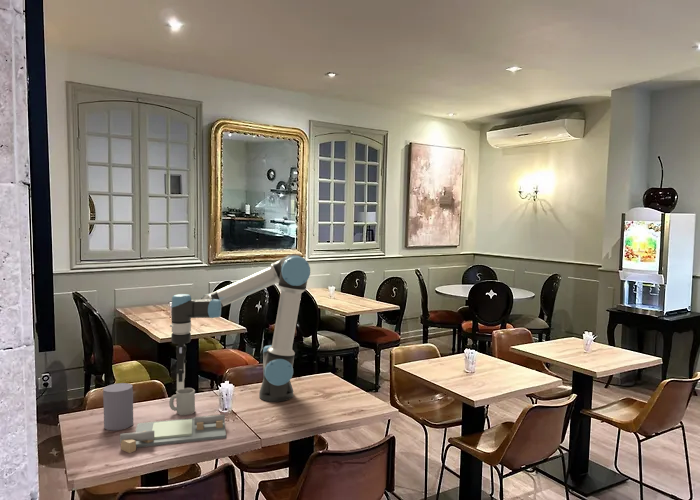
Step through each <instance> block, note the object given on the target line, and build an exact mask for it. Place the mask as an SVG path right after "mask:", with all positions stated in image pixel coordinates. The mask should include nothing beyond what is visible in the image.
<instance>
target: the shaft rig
mask: <svg viewBox="0 0 700 500" xmlns="http://www.w3.org/2000/svg"><path fill="white" fill-rule="evenodd" d="M225 417H226V415H225V414H216V415H215V414H214V415H203V416H194V417H190V418H180V419H172V420H171V419H170V420H169V419H168V420H159V421H157V420H156V421H149V422H139V423H137V425H136V428H135V432H126V433H125V432H124V433H120V434H119V443H120V450H121V451H124V452H126V453H128V454H131V453H134V452H136V451H137V448H144V447H152V446H161V445H164V446H165V445H172V444H181V443H190V442H192V443H193V442H201V441H210V440H212V441H213V440H220V439H227V434H226V433H227V432H226V426H225V424H226V421H225V420H226V418H225Z"/></svg>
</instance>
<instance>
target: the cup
mask: <svg viewBox="0 0 700 500" xmlns="http://www.w3.org/2000/svg"><path fill="white" fill-rule="evenodd" d="M175 393H176V394H173V395H171V396H170V398H169V401H168V403H169V405H168V406H169V408H170V410H172V411H174V412H175V411H176V414H177V415H179V416H189V415H192V414H194V413H195V411H196V402H195V401H196V399H195V398H196V394H195V393H196V390H195V389H194V388H192V387H184V389H181V390H177V389H176V391H175ZM175 399H176V400H175ZM174 401H176V402H175V403H176V406H175V405H174Z"/></svg>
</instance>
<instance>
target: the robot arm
mask: <svg viewBox="0 0 700 500" xmlns="http://www.w3.org/2000/svg"><path fill="white" fill-rule="evenodd" d="M310 276H311V267H310V263H309V262H308V261H307V259H305V258H304V257H303V256H301V255H299V254H296V253H295V254H294V253H291V254H287V255H286V256H284V257H282V258H281V259H279V260H277V261H275V262H273V263H271V265H270V266H269V267H267V268H265V269H262V270H260V271H257V272H255V273H253V274H251V275H249V276H247V277H244V278H242V279H240V280H238V281H235V282H233V283H231V284H228V285H226V286H224V287H222V288H220V289H217V290H216V291H213V292H210V293H206V294H203V295H202V297H200V299H193V298H192V296H191V294H188V293H178V294H174V295H172V296H171V306H170V307H171V312H170V313H171V314H170V315H171V317H170V318H171V324H170V325H169V327H170V328H171V338H170V339H171V343H172V344H176V346H175V353H176V354H175V355H176V357H175V358H176V359H177V361H176V363H177V364H176V371H174V374H175V375H176V391H177V390H181V389H184V388H185V380H186V379H185V378H186V363H187V360H186V352H187V345H186V344H188V343H190V342H191V341H192V338H191V337H192V333H191V332H192V319H215V318H220V317H221V315H222V308H223V307H225V306H228V305H230V304H232V303H234V302H236V301H238V300H241V299H243V298H245V297H247V296H250V295H253V294H255V293H257V292H259V291H261V290H264V289H266V288H268V287H270V286H273V285H275V284H277V286H278V287H279V289H280V296H279V300H278V307H277V312H276V313H277V314H276V319H275V325H274V331H273V336H272V343H271V344H269V345H265V346H264V347H262V348H263V351H262V354H263V356H262V357H263V358H262V359H263V361H262V367H263V368H262V369H263V370H262V371H263V373H262V374H263V377H262V379H263V380H262V383H261V386H260V389H259V392H258V393H259V395H258V396H259V398H260V400H262V401H265V402H270V403H272V402H273V403H277V402H278V403H279V402H285V401H288V400H290V399H292V398H293V397H294V387H293V385H292V382H291V379H292V377H293V375H294V368H293V367H294V360H295V354H296V352H295V351H294V350H293V344H294V340H295V339H294V338H295V335H296V328H297V322H298V315H299V310H300V303H301V298H302V293H304V292H305V291H307V286H308V284H307V283H308V280H309V278H310Z"/></svg>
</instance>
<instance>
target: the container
mask: <svg viewBox="0 0 700 500" xmlns="http://www.w3.org/2000/svg"><path fill="white" fill-rule="evenodd" d="M133 387H134V386H133V384H131V383H127V382H126V383H125V382H121V383H112V384H109V385H107V386H104V387H103V389H102V394H103V395H102V396H103V397H102V398H103V428H104V429H105V430H108V431H112V432H113V431H121V430H126V429H128V428H130V427H132V426H133V425H134V390H133Z"/></svg>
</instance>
